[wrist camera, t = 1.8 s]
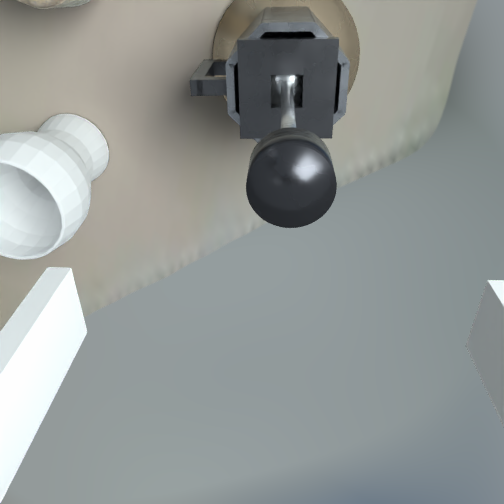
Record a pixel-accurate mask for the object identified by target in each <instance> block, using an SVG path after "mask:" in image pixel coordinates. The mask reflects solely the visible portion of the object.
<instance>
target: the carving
mask: <svg viewBox="0 0 504 504" xmlns="http://www.w3.org/2000/svg"><path fill="white" fill-rule="evenodd" d="M17 1H19V2H21V3H24V4H27V5H29V6H32V7H35V8H38V9H51V8H58V7H61V8H62V7H76V6H80V5H83V4H85V3H87V2H89V1H91V0H17Z"/></svg>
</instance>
